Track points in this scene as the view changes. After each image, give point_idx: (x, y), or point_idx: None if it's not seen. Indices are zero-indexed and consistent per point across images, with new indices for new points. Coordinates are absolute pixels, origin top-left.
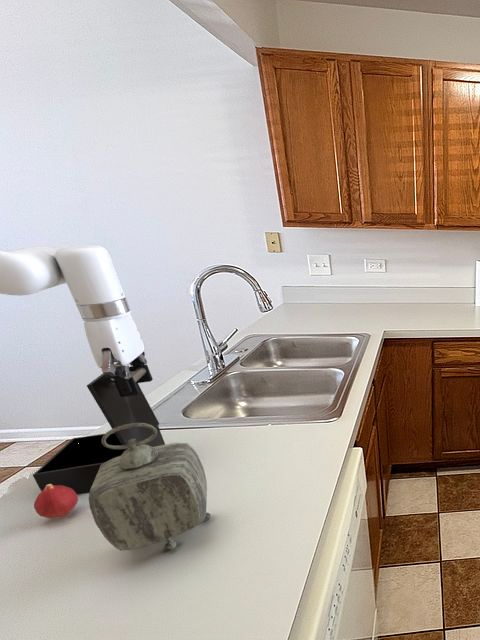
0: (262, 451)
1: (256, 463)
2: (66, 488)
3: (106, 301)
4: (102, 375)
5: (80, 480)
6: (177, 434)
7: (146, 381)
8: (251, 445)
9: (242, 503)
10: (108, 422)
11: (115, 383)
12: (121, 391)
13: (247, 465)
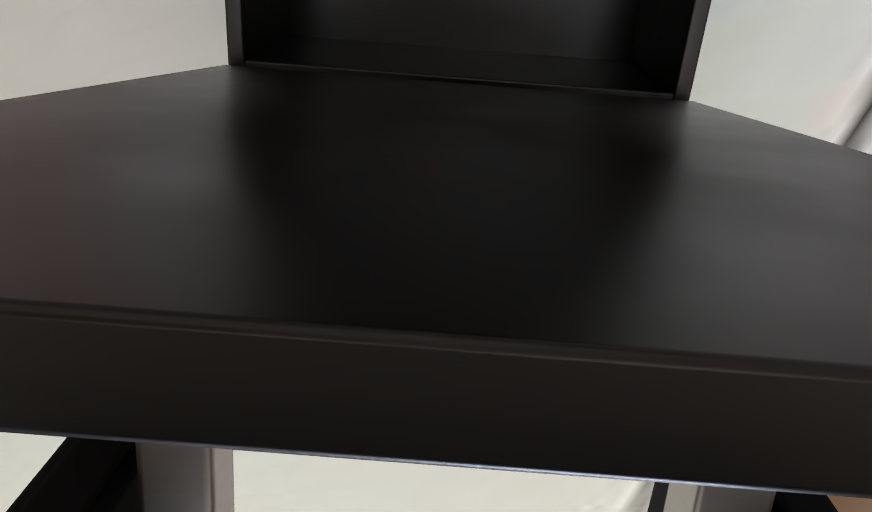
0: (377, 508)
1: (286, 494)
2: None
3: None
4: (35, 418)
5: None
6: (793, 96)
7: (655, 498)
8: (452, 468)
9: (24, 469)
10: (60, 91)
11: (30, 504)
12: (67, 445)
13: (282, 465)
